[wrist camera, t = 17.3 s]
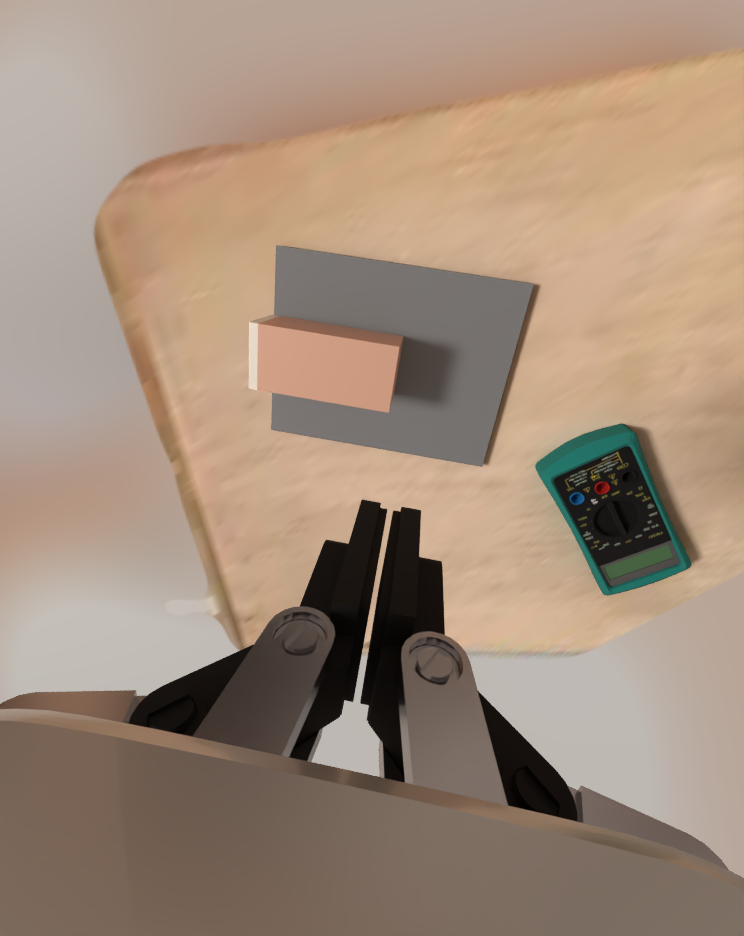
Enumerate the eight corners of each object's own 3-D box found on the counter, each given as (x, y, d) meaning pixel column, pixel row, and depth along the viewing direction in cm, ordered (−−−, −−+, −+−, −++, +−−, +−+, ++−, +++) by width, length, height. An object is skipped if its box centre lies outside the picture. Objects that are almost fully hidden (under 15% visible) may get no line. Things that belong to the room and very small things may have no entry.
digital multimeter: (619, 413, 32) (635, 426, 30) (680, 552, 37) (698, 574, 34) (529, 456, 35) (536, 471, 32) (596, 581, 40) (607, 603, 37)
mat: (531, 283, 29) (533, 283, 28) (481, 463, 35) (482, 466, 35) (278, 245, 30) (276, 245, 29) (273, 427, 36) (271, 429, 36)
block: (399, 346, 27) (249, 322, 27) (388, 412, 29) (249, 388, 29) (403, 336, 31) (272, 314, 31) (393, 394, 33) (270, 373, 34)
